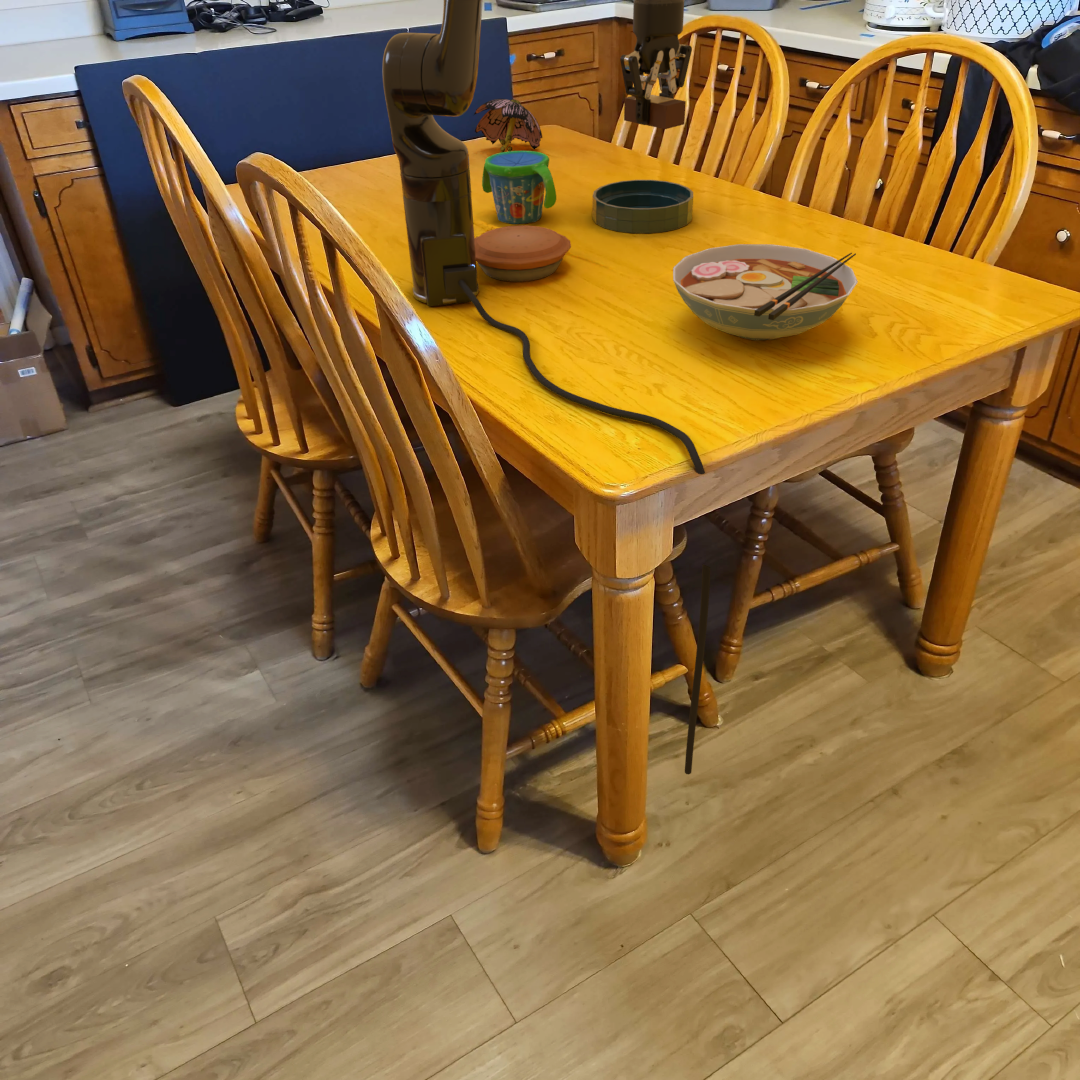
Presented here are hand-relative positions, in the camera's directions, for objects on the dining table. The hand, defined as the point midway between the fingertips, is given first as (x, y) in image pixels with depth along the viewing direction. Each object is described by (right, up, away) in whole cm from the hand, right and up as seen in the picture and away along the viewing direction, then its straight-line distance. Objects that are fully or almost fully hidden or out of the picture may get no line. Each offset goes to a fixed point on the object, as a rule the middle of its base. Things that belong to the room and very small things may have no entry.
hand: (654, 120), depth 150 cm
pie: (-21, -26, -7) cm, 34 cm away
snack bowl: (-1, -13, +10) cm, 16 cm away
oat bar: (0, 0, 0) cm, 0 cm away
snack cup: (-22, -12, +12) cm, 27 cm away
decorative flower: (-24, +15, +49) cm, 56 cm away
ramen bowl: (+10, -39, -27) cm, 49 cm away
